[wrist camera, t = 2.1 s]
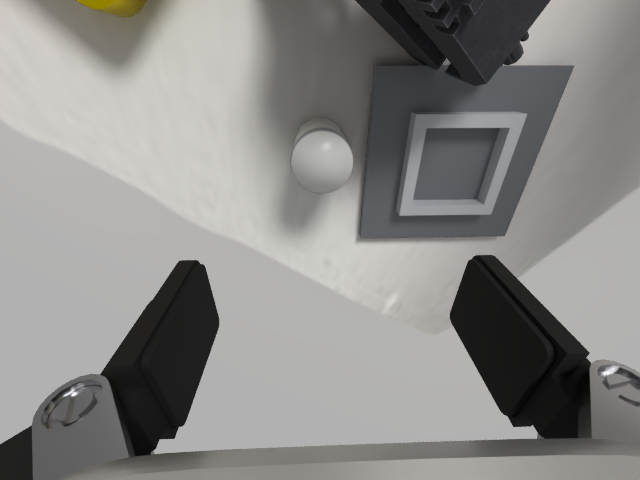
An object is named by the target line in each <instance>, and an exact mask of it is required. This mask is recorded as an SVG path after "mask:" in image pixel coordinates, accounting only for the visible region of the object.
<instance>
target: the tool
mask: <svg viewBox="0 0 640 480" xmlns="http://www.w3.org/2000/svg"><path fill="white" fill-rule="evenodd" d="M355 1H356V2H357V3H358V4H359V5H361V6H362V7H363V8H364V9H365V10H366V11H367V12H368V13H369V14H370V15H371V16H372V17H373V18H374V19H375V20H376V21H377V22H378V23H379V24H380V25H381V26H382V27H383V28H384V29H385V30H386V31H387V32H388V33H389V34H390V35H391V36H392V37H393V38H394V39H395V40H396V41H397V42H398V43H399V44H400V45H401V46H402V47H403V48H404V49H405V50H406V51H407V52H408V53H409V54H410V55H411V56H412V57H413V58H415V59H416V60H418V61H419V62H421V63H422V64H424V65H426V66H429V67H431V68H433V69H435V70H439V68H440V67H441V65H442V64H443V62H444V61H445V59H446V58H447V59H448V60H449V61H450V62H451V64H450V65H449V67H448V68H447V70H446V71H445V73H446V74H447V75H450V76H452V77H454V78H457V79H459V80H462V81H464V82H466V83H469V84H471V85H474V86H479V85H484V84H487V83H488V82H489V81H490V79H491V78H492V77H493V75H494V74H495V73H496V71H497V70H498V69H499V68H500V67H501V66H502V65H503V64H504V65H510V64H513V63H515V62H517V61H518V60H519V59H520V58H521V56H522V54H523V53H524V52H523V48H522V46H521V44H520V42H519V41H520V40H521V41H526V40H527V39H528V38H529V34H528V32H527V31H528V29H529V28H530V27H531V25H532V24H533V23H534V21H535V20H536V19H537V17H538V16H539V15H540V13H541V12H542V11H543V9H544V8H545V7H546V6H547V4H548V3H549V2H550V0H355Z"/></svg>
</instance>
